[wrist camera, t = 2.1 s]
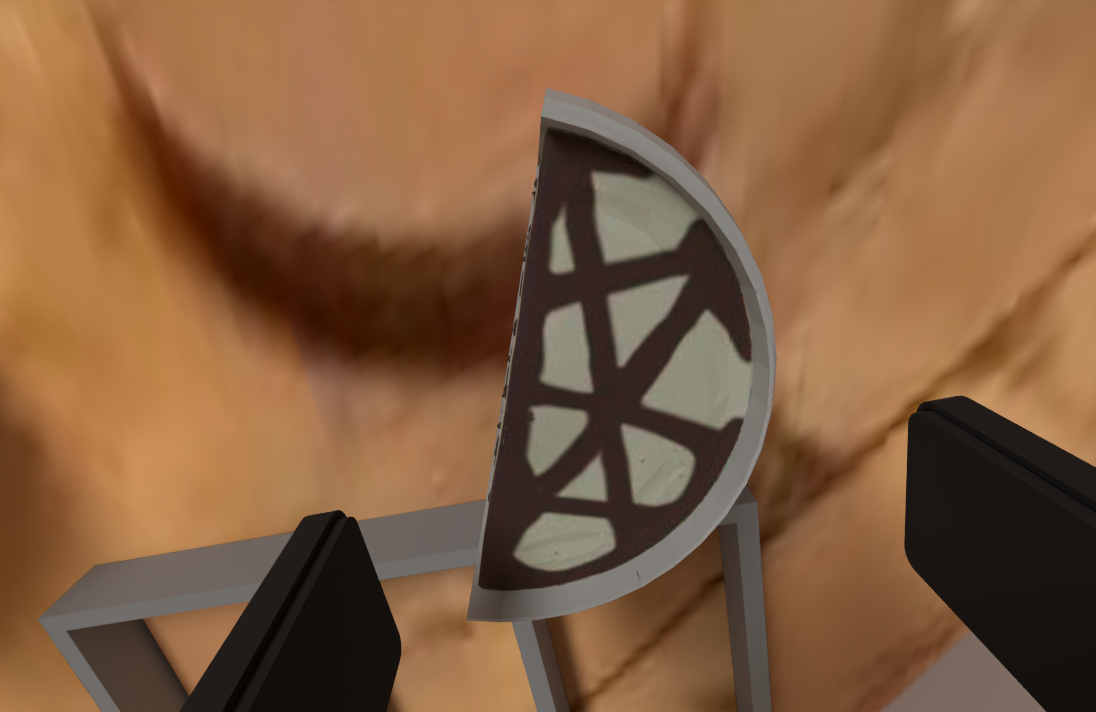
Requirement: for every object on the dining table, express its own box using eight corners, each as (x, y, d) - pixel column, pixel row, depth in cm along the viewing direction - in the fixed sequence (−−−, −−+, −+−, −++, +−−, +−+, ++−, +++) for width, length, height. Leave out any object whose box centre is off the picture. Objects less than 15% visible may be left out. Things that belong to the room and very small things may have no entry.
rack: (731, 458, 23) (757, 501, 20) (754, 727, 29) (777, 790, 26) (94, 565, 25) (37, 618, 22) (237, 798, 31) (206, 864, 28)
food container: (642, 455, 23) (709, 666, 14) (496, 434, 23) (463, 637, 13) (724, 143, 19) (903, 142, 9) (545, 111, 18) (546, 75, 9)
